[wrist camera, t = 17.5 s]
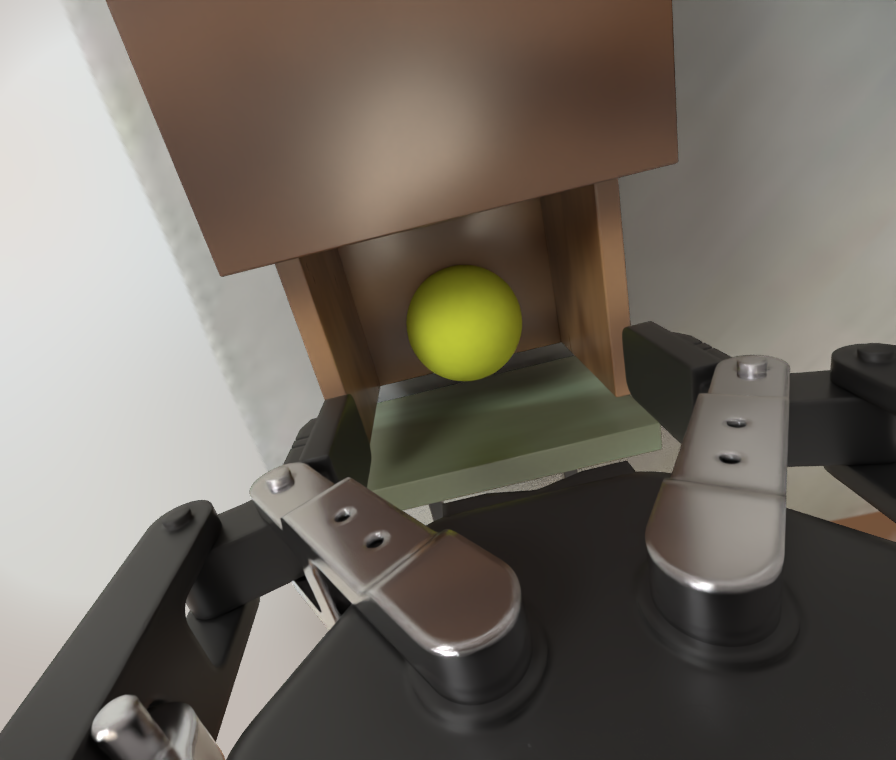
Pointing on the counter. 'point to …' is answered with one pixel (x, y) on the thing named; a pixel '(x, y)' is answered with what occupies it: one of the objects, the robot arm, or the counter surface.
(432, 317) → the ball
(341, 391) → the drawer
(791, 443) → the robot arm
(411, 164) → the cabinet
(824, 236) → the counter surface
